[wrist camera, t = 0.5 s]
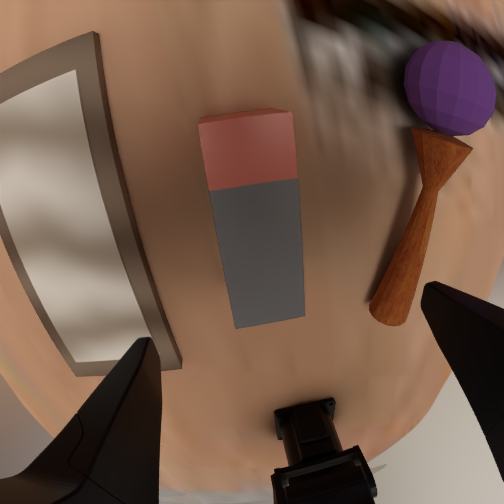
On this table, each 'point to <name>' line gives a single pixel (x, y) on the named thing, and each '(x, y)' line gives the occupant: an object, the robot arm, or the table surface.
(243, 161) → the red and gray block
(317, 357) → the table surface
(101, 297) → the board
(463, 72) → the purple maraca
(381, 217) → the table surface
